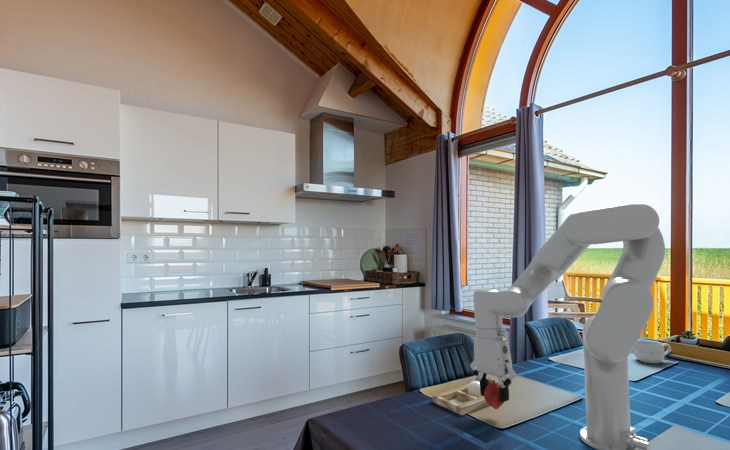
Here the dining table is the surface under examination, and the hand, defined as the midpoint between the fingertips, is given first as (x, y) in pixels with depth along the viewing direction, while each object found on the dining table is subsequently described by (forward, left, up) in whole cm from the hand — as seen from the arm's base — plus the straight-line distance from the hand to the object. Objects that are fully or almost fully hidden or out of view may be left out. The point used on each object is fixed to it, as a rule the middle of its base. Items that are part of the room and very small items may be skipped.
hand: (494, 397), depth 112 cm
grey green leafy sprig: (+16, -17, -7) cm, 24 cm away
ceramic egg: (+12, -7, -6) cm, 15 cm away
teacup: (-3, -98, -7) cm, 99 cm away
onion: (0, 0, -3) cm, 3 cm away
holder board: (+12, -2, -7) cm, 14 cm away
